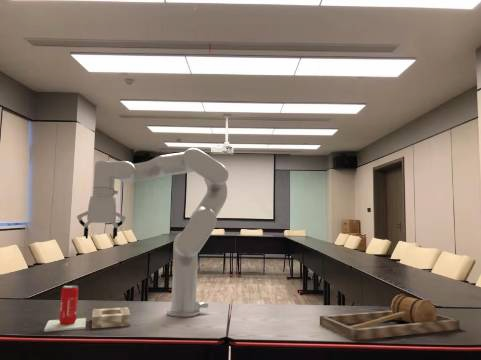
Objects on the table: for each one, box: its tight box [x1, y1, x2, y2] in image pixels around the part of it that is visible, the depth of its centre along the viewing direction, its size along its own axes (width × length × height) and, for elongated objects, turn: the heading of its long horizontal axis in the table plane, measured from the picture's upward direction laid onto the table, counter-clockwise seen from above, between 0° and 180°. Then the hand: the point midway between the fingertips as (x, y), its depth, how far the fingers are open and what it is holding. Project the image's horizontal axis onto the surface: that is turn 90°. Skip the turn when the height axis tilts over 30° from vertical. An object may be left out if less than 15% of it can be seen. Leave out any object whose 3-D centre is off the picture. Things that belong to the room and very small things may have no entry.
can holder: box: [91, 306, 132, 329], centre depth 130 cm, size 12×12×4 cm
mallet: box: [348, 293, 437, 329], centre depth 131 cm, size 12×38×10 cm, turn 113°
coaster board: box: [43, 317, 87, 333], centre depth 125 cm, size 12×12×1 cm
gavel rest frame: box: [319, 310, 461, 341], centre depth 132 cm, size 45×19×3 cm, turn 111°
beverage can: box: [58, 285, 79, 325], centre depth 126 cm, size 5×5×12 cm
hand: (100, 238), depth 141 cm, fingers open, 9 cm apart
